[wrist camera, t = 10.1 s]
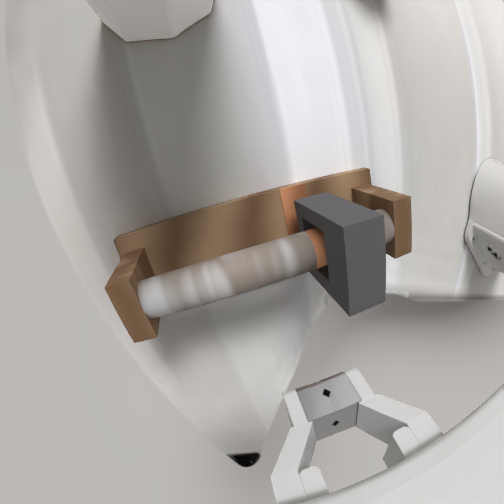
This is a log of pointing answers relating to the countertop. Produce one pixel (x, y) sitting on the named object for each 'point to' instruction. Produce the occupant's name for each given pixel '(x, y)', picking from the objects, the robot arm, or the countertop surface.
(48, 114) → the countertop surface
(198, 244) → the pipe rack
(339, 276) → the collar
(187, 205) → the countertop surface
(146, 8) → the cup
